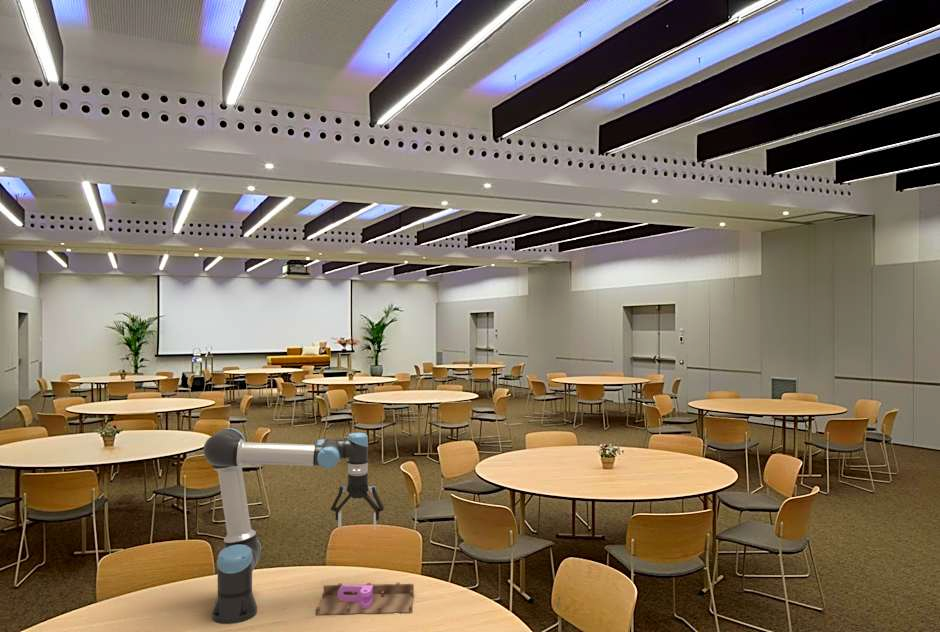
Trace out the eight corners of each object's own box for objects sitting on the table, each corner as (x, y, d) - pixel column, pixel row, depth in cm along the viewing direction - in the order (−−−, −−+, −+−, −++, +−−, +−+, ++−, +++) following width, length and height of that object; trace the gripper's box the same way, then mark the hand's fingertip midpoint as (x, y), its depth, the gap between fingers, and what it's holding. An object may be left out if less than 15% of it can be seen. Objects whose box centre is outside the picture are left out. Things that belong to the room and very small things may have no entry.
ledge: (315, 617, 233) (315, 603, 233) (324, 596, 250) (324, 583, 250) (411, 615, 234) (411, 601, 234) (413, 595, 251) (413, 582, 251)
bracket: (373, 585, 244) (369, 593, 237) (373, 600, 244) (369, 608, 237) (338, 584, 244) (333, 592, 237) (338, 599, 244) (333, 608, 237)
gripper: (323, 475, 249) (322, 531, 249) (389, 476, 249) (388, 532, 249) (327, 471, 257) (327, 525, 257) (391, 471, 257) (390, 525, 257)
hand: (357, 528), depth 253 cm, fingers open, 13 cm apart
